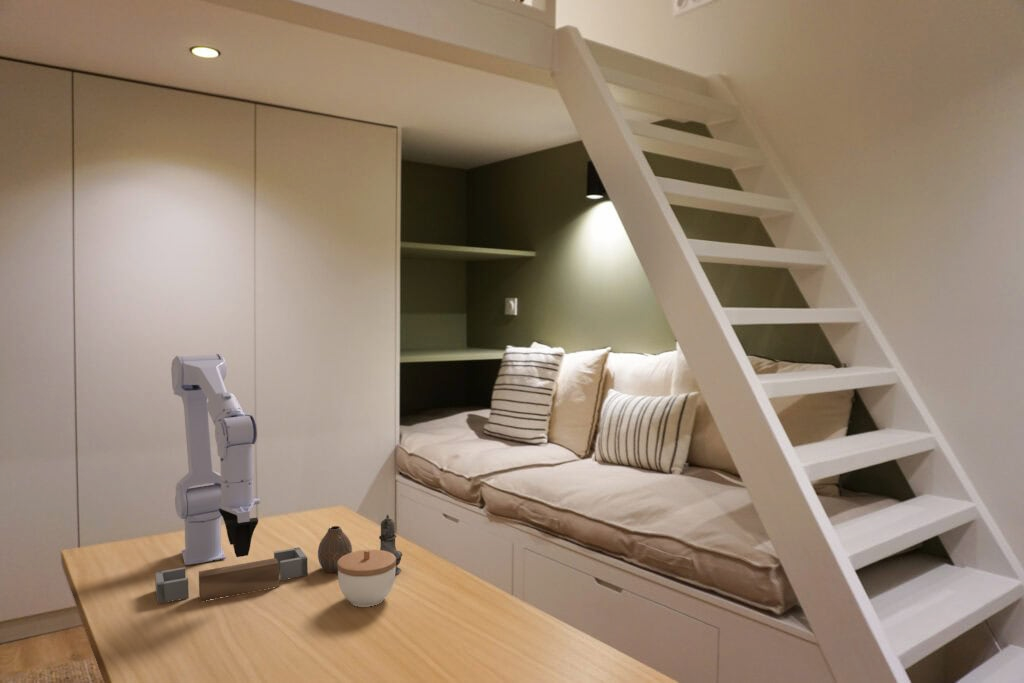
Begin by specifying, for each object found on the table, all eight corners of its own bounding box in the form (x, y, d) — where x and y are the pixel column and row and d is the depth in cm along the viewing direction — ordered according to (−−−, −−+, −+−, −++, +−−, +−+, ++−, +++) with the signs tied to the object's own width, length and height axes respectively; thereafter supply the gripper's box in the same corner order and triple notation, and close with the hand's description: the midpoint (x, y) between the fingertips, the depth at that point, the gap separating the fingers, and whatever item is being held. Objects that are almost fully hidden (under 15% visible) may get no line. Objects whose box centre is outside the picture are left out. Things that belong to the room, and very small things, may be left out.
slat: (199, 597, 131) (198, 571, 131) (276, 582, 138) (275, 557, 138) (200, 603, 129) (200, 576, 128) (279, 588, 136) (278, 562, 135)
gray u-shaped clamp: (155, 590, 134) (155, 572, 134) (185, 585, 136) (184, 567, 136) (157, 604, 128) (157, 585, 128) (188, 598, 130) (188, 579, 130)
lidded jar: (407, 594, 132) (407, 545, 132) (373, 617, 122) (373, 565, 122) (361, 584, 137) (361, 537, 136) (325, 606, 127) (324, 556, 126)
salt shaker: (407, 568, 145) (407, 511, 144) (394, 579, 139) (393, 520, 139) (382, 565, 147) (382, 509, 146) (368, 575, 141) (367, 517, 140)
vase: (356, 563, 148) (356, 522, 147) (345, 576, 141) (345, 533, 140) (325, 562, 148) (324, 521, 148) (312, 575, 142) (312, 532, 141)
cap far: (274, 568, 145) (273, 551, 145) (299, 564, 147) (299, 547, 147) (281, 580, 139) (280, 562, 139) (307, 575, 141) (307, 557, 141)
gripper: (266, 485, 128) (267, 557, 129) (252, 468, 140) (254, 535, 141) (225, 490, 124) (227, 564, 125) (214, 473, 137) (216, 541, 138)
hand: (238, 549), depth 133 cm, fingers open, 7 cm apart
